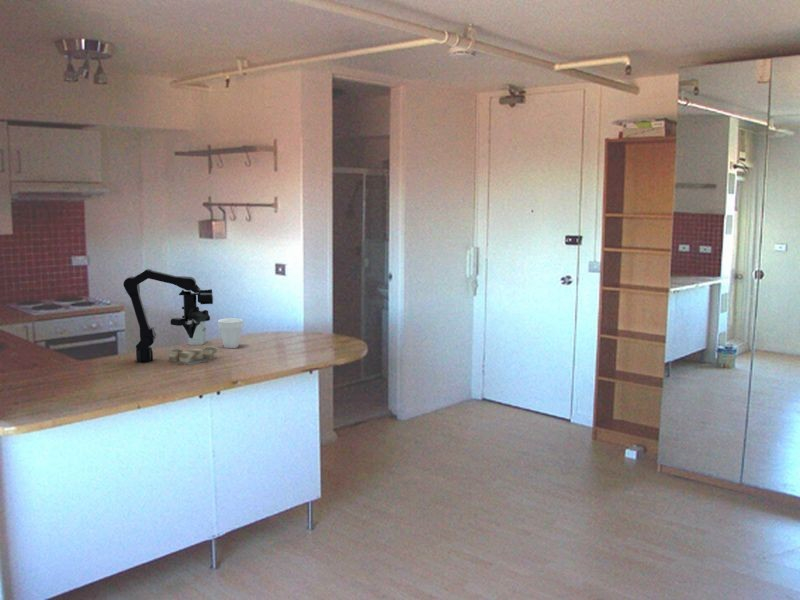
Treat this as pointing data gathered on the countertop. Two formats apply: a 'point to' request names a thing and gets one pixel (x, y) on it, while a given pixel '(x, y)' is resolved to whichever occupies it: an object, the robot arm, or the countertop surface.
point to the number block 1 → (174, 355)
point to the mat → (194, 361)
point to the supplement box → (199, 335)
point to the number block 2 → (210, 353)
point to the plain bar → (191, 355)
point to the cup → (230, 331)
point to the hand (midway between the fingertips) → (191, 338)
